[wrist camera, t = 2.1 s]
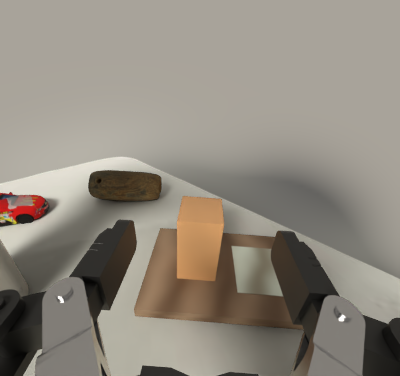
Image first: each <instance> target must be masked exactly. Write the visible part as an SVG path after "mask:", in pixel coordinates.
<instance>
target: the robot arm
mask: <svg viewBox="0 0 400 376" xmlns="http://www.w3.org/2000/svg"><path fill="white" fill-rule="evenodd" d="M136 244H137V241H136V234H135V227H134V222H133V221H132V220H118V221H117V222H116V224H115V225H114V227H113V228H112V229H111V228H107V229H106V230H105V231H103V232H102V233H101V234H99V236H98V237H97V239H96V240H95V241H94V244H92V246H91V247H90V248H89V250H88V251H87V253H86V254H85V255H84V257H83V258H82V260H81V261H80V262H79V264H78V265H77V267H76V268H75V269H74V271H73V272H72V274H71V275H70V276H69V278H65V279H62V280H60V281H58V282H57V283H55V284H54V285H52V286H51V287H50V288H49V289H48V290H47V291H45V292H41V293H36V294H32V295H28V294H29V287H28V285H27V283H26V281H25V280H24V278H23V276H22V275H21V273H20V271H19V270H18V268H17V266H16V264H15V263H14V261H13V259H12V258H11V256H10V254H9V253H8V251H7V249H6V248H5V246H4V244H3V243H2V241H1V240H0V376H23V374H24V373H25V371H26V369H27V367H28V366H29V364H30V362H31V361H32V359H33V357H34V355H35V354H36V352H37V350H39V349H42V354H41V355H39V356H38V357H37V360H36V365H35V376H111V373H110V370H109V367H108V363H107V359H106V355H105V350H104V346H103V341H102V337H101V332H100V328H99V324H98V320H97V318H98V316H99V314H100V312H101V310H110V308H111V306H112V304H113V301H114V299H115V297H116V294H117V292H118V290H119V288H120V285H121V283H122V281H123V278H124V276H125V274H126V271H127V269H128V267H129V264H130V262H131V260H132V257H133V255H134V253H135V250H136ZM271 262H272V265H273V268H274V270H275V273H276V276H277V279H278V282H279V285H280V288H281V291H282V294H283V297H284V300H285V303H286V306H287V309H288V312H289V314H290V317H291V320H292V323H293V324H294V325H302V326H303V329H304V333H303V336H302V339H301V342H300V345H299V348H298V351H297V355H296V358H295V361H294V364H293V367H292V370H291V373H290V376H362V375H363V376H400V318H394V319H392V320H391V321H390V322H389V323H388V324H386V323H384V322H381V321H378V320H375V319H373V318H370V317H367V316H365V315H362V314H361V312H360V311H359V310H358V309H357V308H356V307H355V306H354V305H353V304H352V303H351V302H349V301H348V300H346V299H344V298H342V297H340V296H339V294H338V293H337V291H336V289H335V288H334V286H333V284H332V283H331V281H330V279H329V278H328V276H327V274H326V273H325V271H324V269H323V268H322V267H321V264H320V263H319V261H318V260H317V258H316V256H315V254H314V253H313V251H312V250H311V249H310V248H309V247H308V246H307V245H306V244H305V243H304V242H299V240H298V239H297V237H296V235H295V233H294V232H291V231H278V232H277V234H276V237H275V240H274V243H273V246H272V249H271ZM138 376H188V375H186V374H184V373H182V372H179V371H177V370H175V369H173V368H168V367H155V366H142V370H141V374H140V375H138ZM218 376H258V374H247V373H234V372H229V373H225V374H221V375H218Z"/></svg>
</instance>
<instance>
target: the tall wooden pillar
mask: <svg viewBox="0 0 400 376" xmlns="http://www.w3.org/2000/svg"><path fill="white" fill-rule="evenodd" d="M223 228H224V219H223V209H222V199H215V198H201V197H188V196H183V198H182V202H181V206H180V211H179V215H178V220H177V278H179V279H192V280H205V281H215V278H216V272H217V266H218V259H219V253H220V247H221V240H222V234H223Z"/></svg>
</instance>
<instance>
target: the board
mask: <svg viewBox="0 0 400 376" xmlns="http://www.w3.org/2000/svg"><path fill="white" fill-rule="evenodd" d="M274 240H275V237H267V236H254V235H241V234H228V233H223V234H222V240H221V247H220V253H219V259H218V266H217V272H216V278H215V281H205V280H192V279H179V278H177V230H176V229H163V228H160V231H159V234H158V237H157V240H156V243H155V246H154V249H153V252H152V255H151V258H150V262H149V265H148V268H147V271H146V274H145V277H144V280H143V283H142V286H141V289H140V292H139V295H138V298H137V301H136V304H135V308H134V312H135V316H142V317H154V318H166V319H179V320H191V321H204V322H216V323H229V324H241V325H254V326H266V327H279V328H291V329H303V326H302V325H294V324H293V323H292V320H291V317H290V314H289V312H288V309H287V306H286V303H285V300H284V297H283V294H282V291H281V288H280V285H279V282H278V279H277V276H276V273H275V270H274V268H273V265H272V262H271V249H272V246H273V243H274Z"/></svg>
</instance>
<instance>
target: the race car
mask: <svg viewBox="0 0 400 376" xmlns="http://www.w3.org/2000/svg"><path fill="white" fill-rule="evenodd" d="M48 209H49V204H48V202H47V201H46V199H44V198H43V197H41V196H38V195H13V194H12V193H11V192H10V193H9V194H6V193H0V226H5V225H11V224H17V223H18V222H19V223H21V224H25V223H31V222H32V221H33V220H34V219H37V218H39V217H41V216H42V215H44V214H45V213H46V212H47V210H48Z"/></svg>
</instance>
